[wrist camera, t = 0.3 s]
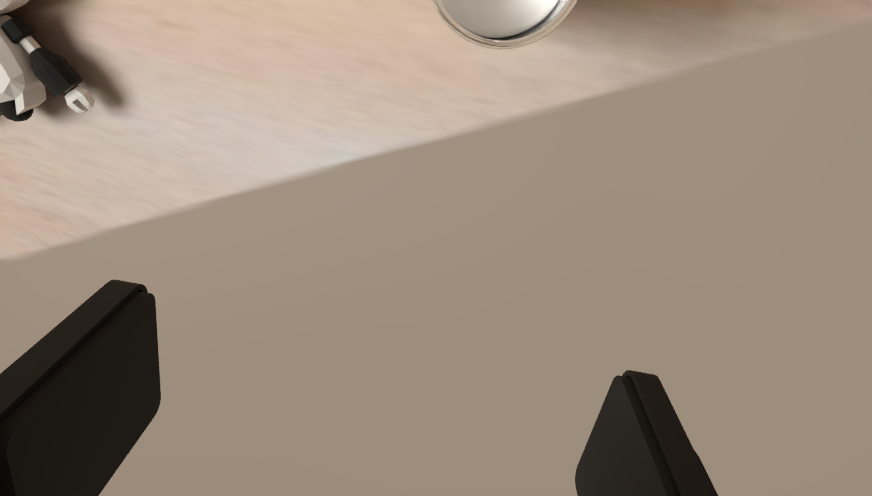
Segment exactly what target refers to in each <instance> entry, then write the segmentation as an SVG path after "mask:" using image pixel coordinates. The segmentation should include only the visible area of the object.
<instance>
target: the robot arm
mask: <svg viewBox="0 0 872 496" xmlns="http://www.w3.org/2000/svg"><path fill="white" fill-rule="evenodd" d="M160 400H161V392H160V374H159V358H158V340H157V323H156V306H155V297H154V296H153V294H151V293H148V292H147V289H146V287H145V286H144V285H142V284H137V283H130V282H125V281H120V280H111V281H109V282H108V283H107V284H105V285H104V286H103V287H102V288H101V289H99V290H98V291H97V292H96V293H95V294H94V295H92V296H91V297H90V298H89V299H88V300H87V301H85V302H84V303H83V304H82V305H81V306H80V307H78V308H77V309H76V310H75V311H74V312H72V313H71V314H70V315H69V316H68V317H67V318H65V319H64V320H63V321H62V322H61V323H59V324H58V325H57V326H56V327H55V328H54V329H53V330H51V331H50V332H49V333H48V334H47V335H46V336H44V337H43V338H42V339H41V340H40V341H38V342H37V343H36V344H35V345H34V346H33V347H31V348H30V349H29V350H28V351H27V352H26V353H24V354H23V355H22V356H21V357H20V358H19V359H17V360H16V361H15V362H14V363H13V364H11V365H10V366H9V367H8V368H7V369H6V370H4V371H3V372H2V373H1V374H0V496H98V495H99V494H100V493H101V491H102V490H103V488H104V487H105V485H106V484H107V483H108V481H109V480H110V479H111V477H112V476H113V474H114V473H115V471H116V470H117V469H118V467H119V466H120V464H121V463H122V462H123V460H124V459H125V457H126V456H127V454H128V453H129V452H130V450H131V449H132V447H133V446H134V445H135V443H136V442H137V440H138V439H139V438H140V436H141V435H142V433H143V432H144V430H145V429H146V428H147V426H148V425H149V423H150V422H151V421H152V419H153V418H154V416H155V415H156V413H157V411H158V408H159V405H160ZM575 484H576V490H577V494H578V496H718V495H717V493H716V491H715V489H714V487H713V484H712V482H711V480H710V478H709V476H708V474H707V472H706V470H705V468H704V466H703V464H702V462H701V460H700V458H699V456H698V455H697V453H696V452H695V451H694V449H693V447H692V445H691V443H690V441H689V439H688V437H687V435H686V433H685V431H684V429H683V427H682V425H681V423H680V421H679V419H678V417H677V414H676V412H675V410H674V408H673V406H672V404H671V402H670V400H669V398H668V396H667V394H666V392H665V390H664V388H663V386H662V384H661V382H660V380H659V378H658V377H657V376H656V375H653V374H647V373H642V372H636V371H631V370H628V371H626V372H625V373H624V374H623V375H622V376H616V377H615V378H614V379H613V381H612V384H611V386H610V388H609V391H608V393H607V396H606V398H605V401H604V403H603V406H602V408H601V410H600V413H599V415H598V418H597V420H596V422H595V425H594V427H593V430H592V432H591V435H590V437H589V439H588V442H587V444H586V447H585V449H584V452H583V454H582V456H581V459H580V461H579V464H578V466H577V469H576V475H575Z"/></svg>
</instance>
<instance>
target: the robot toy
mask: <svg viewBox="0 0 872 496" xmlns="http://www.w3.org/2000/svg"><path fill="white" fill-rule="evenodd" d="M29 1H30V0H0V15H1V14H4V13H7V12H10V11H13V10H15V9H17V8H19V7H21V6H23V5H25V4H26V3H27V2H29ZM34 32H35V30H34V29H33V28H32V27H31V26H30V25H29V24H28V23H27V21H26V20H25V19H24V18H23V17H15V18H11V17H10V16H8V15H2V16H0V115H4V116H5V117H6V118H7V119H10V120H13V121H24V120H27V119H28V118H30V117H31V116H32V113H33V108H35V107H37V106H39V105H40V104H42V103H43V102H44V101H45V100H46V90H45V87H46V88H47V89H48V90H49V91H50V92H51V94H52V95H53V96H54V97H56V96H59V95H62V94H64V97H65V99H66V102H67V105H68V106H69V107H70V108H71V109H73V110H74V111H75V112H77V113H84V112H86V111H87V110H88V109H89V108H91V107H93V106H94V99H93V97H92V96H91V94H90V92H89V91H87V90H85V89H83V88H81V87H79V86H77V85H78V84H80V83H81V82H82V81H83V79H82V78H81V77H80V75H79V74H78V73H77V72H76V71H75V70H74V69H73V67H72V66H71V65H70V64H69V63H68V62H67V61H66V60H65V58H63V57H61V56H59V55H57V54H55V53H53V52H51V51H49V50H46V49H44V48H42V47H40V45H39V44H38V43H37V42H36V41H35V40H34V39H33V38H32V36H33V35H34Z"/></svg>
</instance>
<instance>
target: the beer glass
mask: <svg viewBox="0 0 872 496" xmlns="http://www.w3.org/2000/svg"><path fill="white" fill-rule="evenodd" d="M577 1H578V0H431V2H432V4H433V6H434V8H435V10H436V11H437V13H438V15H439V16H440V17H441V19H442V20H443V21H444V22H445V23H446V25H447V26H448V27H449V28H450V29H451V30H453V31H454V32H455V33H456V34H458V35H459V36H460V37H462V38H464V39H465V40H467V41H469V42H471V43H473V44H476V45H479V46H482V47H486V48H492V49H512V48H518V47H522V46H525V45H528V44H531V43H533V42H535V41H537V40H539V39H541V38H543V37H545V36H546V35H548V34H549V33H550V32H552V31H553V30H554V29H555V28H557V27H558V26H559V25H560V24H561V23H562V22H563V21H564V19H565V18H566V17H567V16H568V15H569V13H570V12H571V11H572V9H573V8H574V6H575V5H576V3H577Z"/></svg>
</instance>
